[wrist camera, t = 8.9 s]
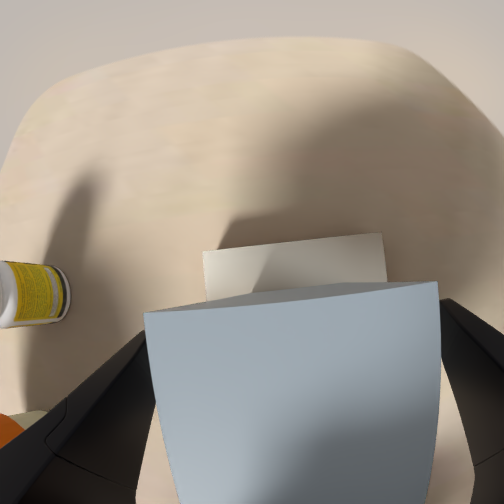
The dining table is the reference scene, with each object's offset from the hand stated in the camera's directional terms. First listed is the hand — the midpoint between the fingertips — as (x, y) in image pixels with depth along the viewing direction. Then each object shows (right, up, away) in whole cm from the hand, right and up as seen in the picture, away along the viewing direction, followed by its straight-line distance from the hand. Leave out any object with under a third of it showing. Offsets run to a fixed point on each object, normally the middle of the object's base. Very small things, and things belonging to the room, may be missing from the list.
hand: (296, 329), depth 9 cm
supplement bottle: (-18, -1, +13) cm, 22 cm away
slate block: (+1, -2, +7) cm, 8 cm away
